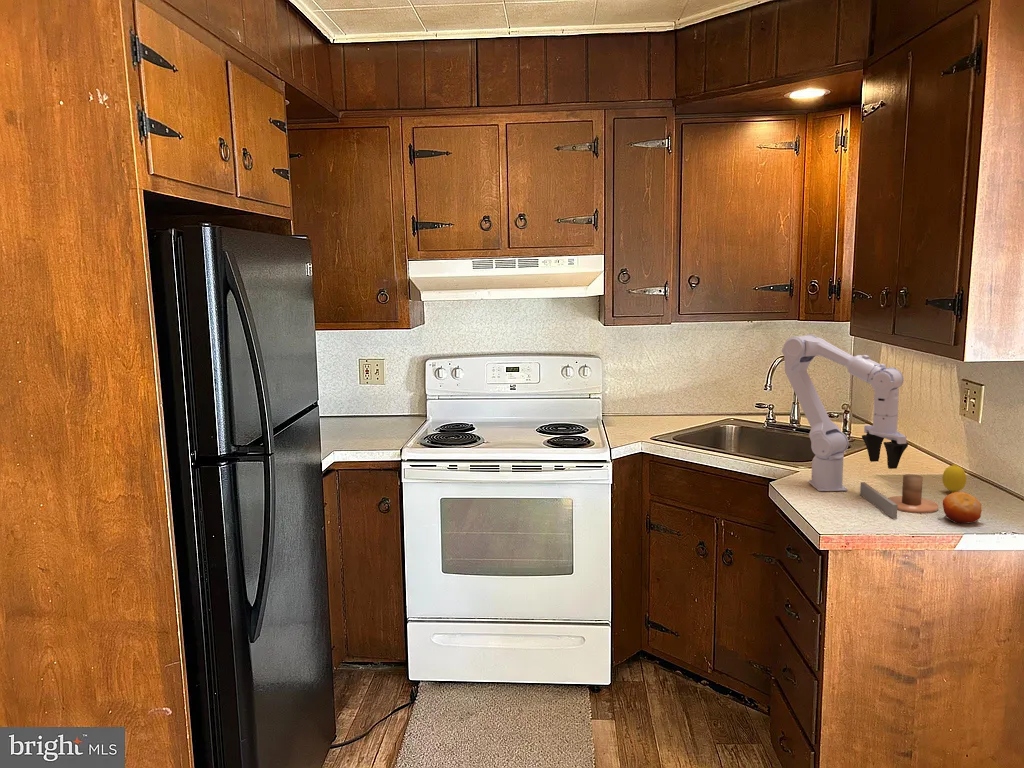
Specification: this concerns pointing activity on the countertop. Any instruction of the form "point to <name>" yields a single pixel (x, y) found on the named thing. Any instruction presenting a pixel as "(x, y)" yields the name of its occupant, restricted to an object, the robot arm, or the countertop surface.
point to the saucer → (925, 506)
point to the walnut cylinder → (912, 489)
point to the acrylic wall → (879, 500)
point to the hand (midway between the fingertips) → (883, 464)
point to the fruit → (961, 507)
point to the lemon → (954, 478)
